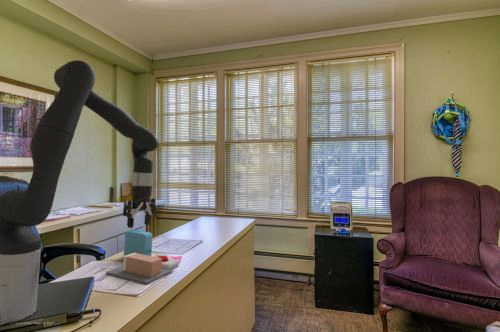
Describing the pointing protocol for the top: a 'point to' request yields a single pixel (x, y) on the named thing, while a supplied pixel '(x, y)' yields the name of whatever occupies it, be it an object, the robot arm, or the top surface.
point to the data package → (138, 242)
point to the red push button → (168, 262)
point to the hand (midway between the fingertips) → (138, 226)
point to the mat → (137, 275)
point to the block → (142, 264)
